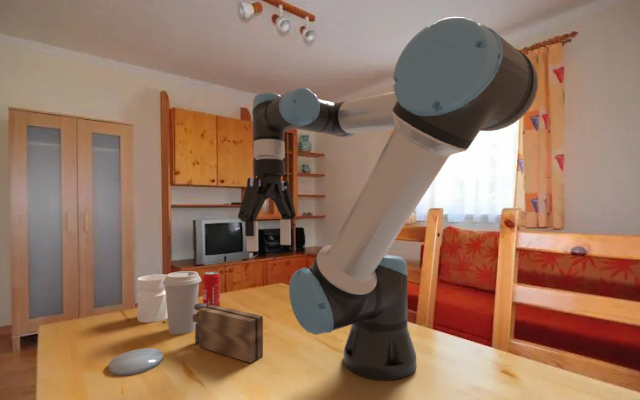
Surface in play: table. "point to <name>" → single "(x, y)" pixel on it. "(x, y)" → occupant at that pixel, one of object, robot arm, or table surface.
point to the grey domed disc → (135, 361)
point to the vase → (151, 298)
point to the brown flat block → (257, 317)
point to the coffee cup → (181, 300)
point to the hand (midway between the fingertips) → (270, 247)
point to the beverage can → (211, 288)
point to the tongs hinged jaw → (226, 333)
